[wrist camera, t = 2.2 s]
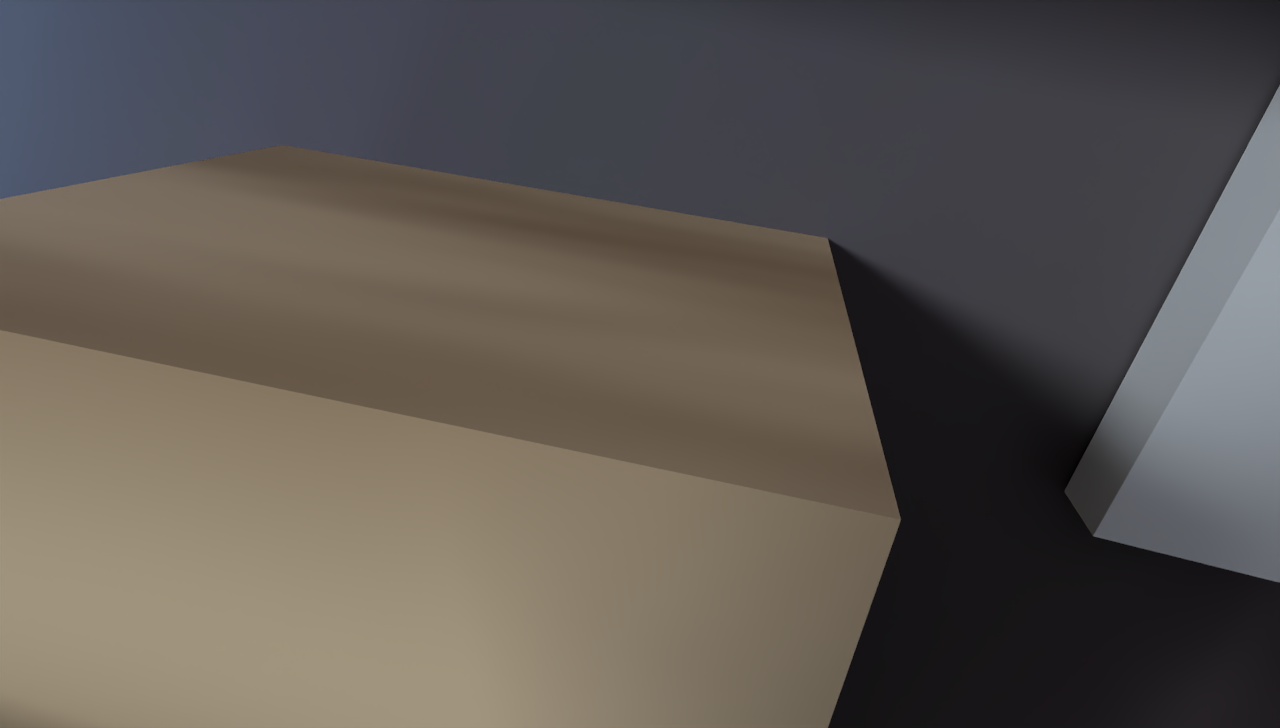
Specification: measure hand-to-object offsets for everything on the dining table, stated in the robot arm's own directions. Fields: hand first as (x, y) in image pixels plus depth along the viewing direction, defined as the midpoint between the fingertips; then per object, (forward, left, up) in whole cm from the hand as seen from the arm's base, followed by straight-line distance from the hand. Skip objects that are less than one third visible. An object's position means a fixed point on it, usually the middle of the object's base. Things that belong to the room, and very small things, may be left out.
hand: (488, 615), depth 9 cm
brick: (0, 0, -1) cm, 1 cm away
